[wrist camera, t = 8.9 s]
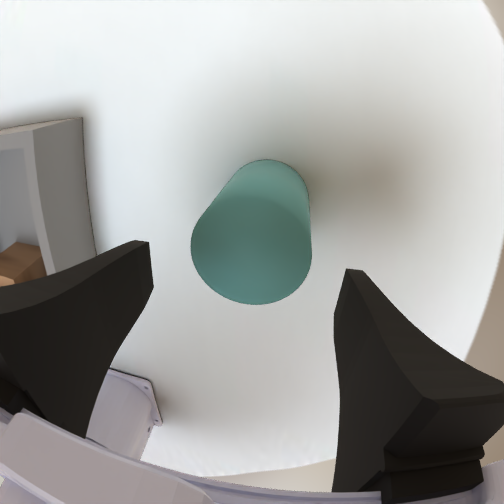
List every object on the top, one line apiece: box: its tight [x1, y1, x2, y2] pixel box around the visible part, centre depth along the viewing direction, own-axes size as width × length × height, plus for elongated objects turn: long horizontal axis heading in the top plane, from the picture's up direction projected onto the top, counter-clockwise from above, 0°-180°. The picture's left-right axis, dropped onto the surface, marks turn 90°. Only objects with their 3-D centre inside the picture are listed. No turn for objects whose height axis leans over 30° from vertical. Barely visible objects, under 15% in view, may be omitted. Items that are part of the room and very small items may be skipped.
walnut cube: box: [0, 242, 47, 287], centre depth 22 cm, size 5×5×5 cm
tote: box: [0, 118, 96, 276], centre depth 21 cm, size 18×14×5 cm
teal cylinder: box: [191, 160, 312, 305], centre depth 16 cm, size 5×5×7 cm
